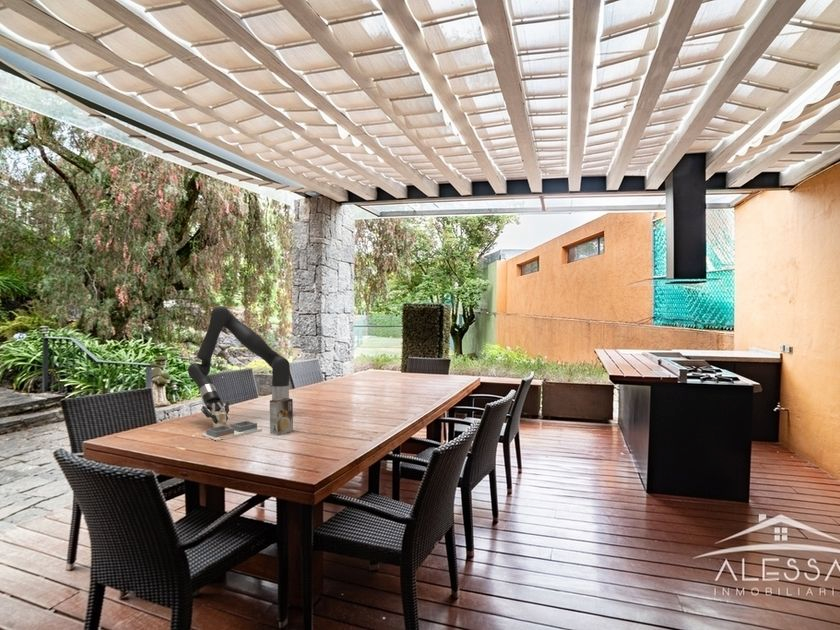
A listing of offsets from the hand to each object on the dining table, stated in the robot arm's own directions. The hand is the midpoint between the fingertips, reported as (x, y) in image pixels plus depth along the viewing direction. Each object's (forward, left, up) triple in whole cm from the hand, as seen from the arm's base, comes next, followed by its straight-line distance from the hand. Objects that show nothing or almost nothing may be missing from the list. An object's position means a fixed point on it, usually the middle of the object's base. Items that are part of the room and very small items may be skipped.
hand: (221, 421), depth 224 cm
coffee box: (-16, +27, -4) cm, 32 cm away
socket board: (0, +10, -4) cm, 11 cm away
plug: (0, -2, -4) cm, 5 cm away
